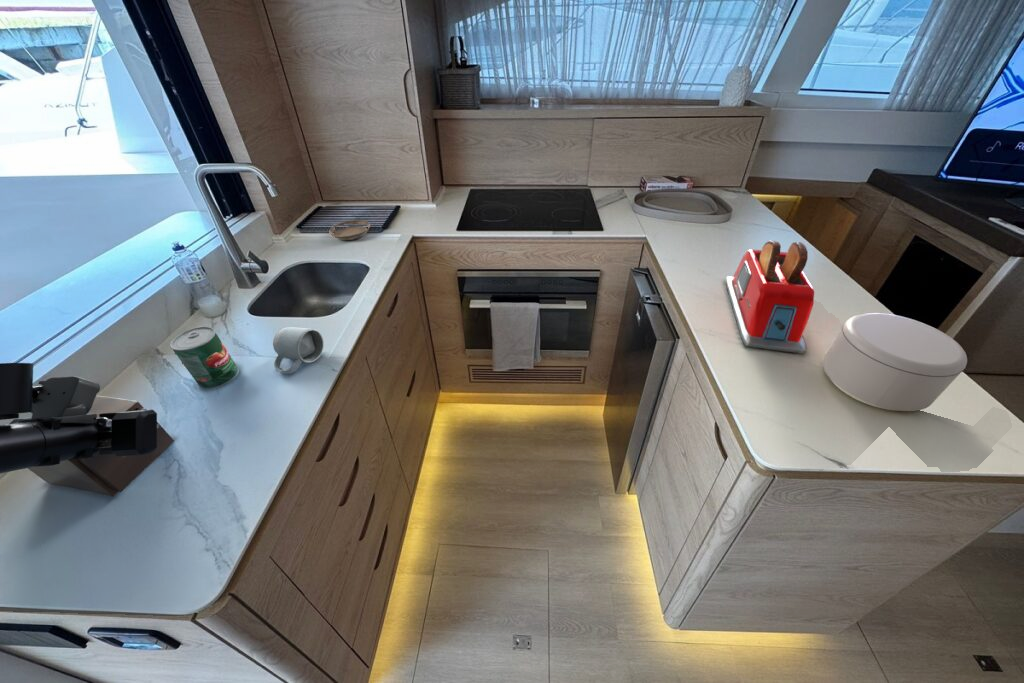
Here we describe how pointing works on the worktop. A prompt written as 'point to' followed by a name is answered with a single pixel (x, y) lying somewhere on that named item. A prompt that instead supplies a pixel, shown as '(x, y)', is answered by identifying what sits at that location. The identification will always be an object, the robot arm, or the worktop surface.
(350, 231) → the saucer
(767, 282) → the toaster
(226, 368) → the canned tomato
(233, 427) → the worktop surface
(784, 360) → the worktop surface
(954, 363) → the container
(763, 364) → the worktop surface
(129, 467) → the drawer
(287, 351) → the ceramic mug
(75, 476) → the storage box
